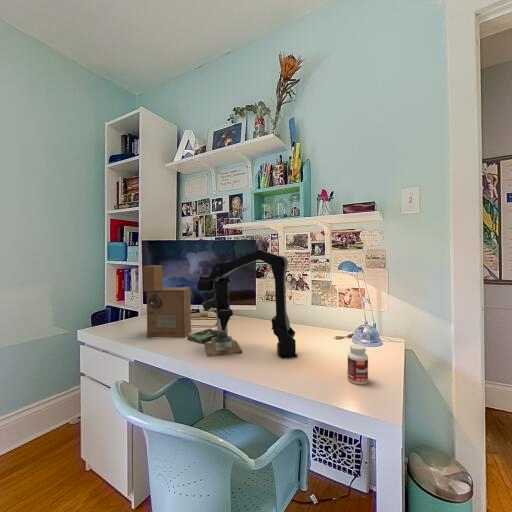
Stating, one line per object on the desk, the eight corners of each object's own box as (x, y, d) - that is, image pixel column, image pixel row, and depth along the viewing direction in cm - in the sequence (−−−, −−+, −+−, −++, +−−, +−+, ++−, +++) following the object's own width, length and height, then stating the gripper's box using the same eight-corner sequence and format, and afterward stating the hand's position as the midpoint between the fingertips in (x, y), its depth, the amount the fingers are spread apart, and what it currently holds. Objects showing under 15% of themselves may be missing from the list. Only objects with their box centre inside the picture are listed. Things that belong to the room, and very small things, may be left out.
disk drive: (208, 333, 146) (186, 341, 134) (208, 328, 146) (186, 335, 134) (224, 337, 141) (202, 345, 128) (224, 331, 141) (202, 338, 128)
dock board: (235, 342, 130) (235, 333, 130) (241, 353, 116) (241, 343, 116) (204, 345, 127) (204, 336, 126) (207, 356, 113) (207, 346, 113)
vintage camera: (143, 340, 135) (141, 266, 134) (155, 331, 149) (154, 264, 149) (182, 340, 134) (181, 266, 133) (191, 331, 148) (190, 264, 147)
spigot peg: (226, 335, 124) (226, 312, 124) (228, 338, 120) (228, 314, 120) (216, 335, 123) (216, 312, 123) (218, 338, 119) (217, 315, 118)
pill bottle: (357, 386, 87) (357, 351, 87) (343, 378, 93) (343, 345, 92) (372, 382, 90) (372, 348, 89) (358, 375, 95) (357, 342, 95)
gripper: (201, 290, 128) (202, 324, 128) (204, 296, 110) (204, 336, 110) (226, 289, 131) (226, 322, 131) (232, 295, 113) (233, 334, 113)
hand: (222, 328), depth 121 cm, fingers closed on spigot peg, 4 cm apart
